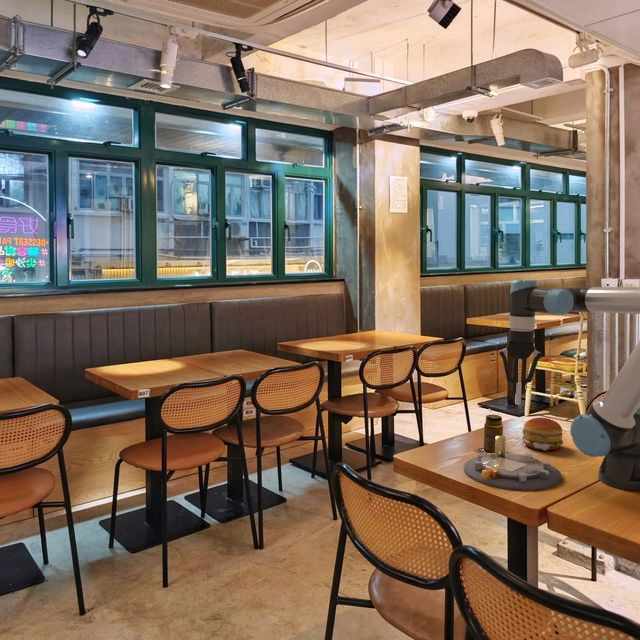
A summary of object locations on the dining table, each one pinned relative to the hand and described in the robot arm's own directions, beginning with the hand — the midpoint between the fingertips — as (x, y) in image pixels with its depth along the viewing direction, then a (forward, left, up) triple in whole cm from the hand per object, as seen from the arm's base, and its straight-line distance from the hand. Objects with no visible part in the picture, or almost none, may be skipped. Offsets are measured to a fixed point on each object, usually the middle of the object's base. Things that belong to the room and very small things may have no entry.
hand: (517, 403), depth 195 cm
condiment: (+12, -3, -19) cm, 23 cm away
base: (-5, +10, -19) cm, 22 cm away
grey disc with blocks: (-5, +10, -18) cm, 21 cm away
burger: (+4, -21, -19) cm, 29 cm away
